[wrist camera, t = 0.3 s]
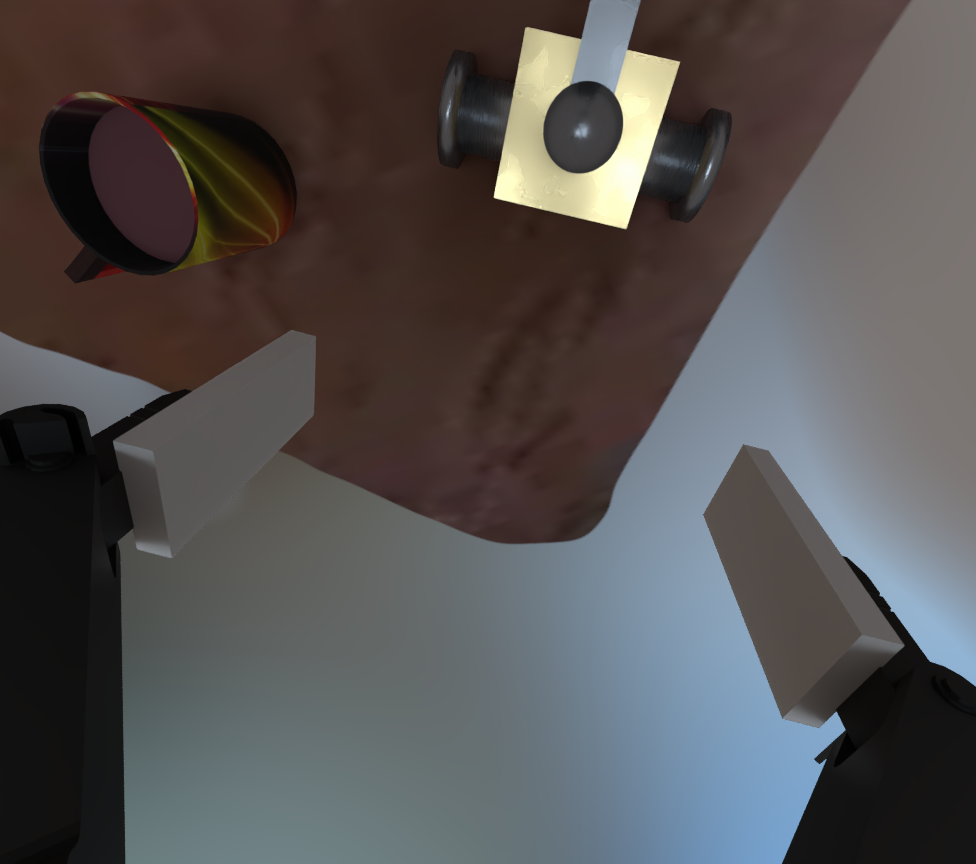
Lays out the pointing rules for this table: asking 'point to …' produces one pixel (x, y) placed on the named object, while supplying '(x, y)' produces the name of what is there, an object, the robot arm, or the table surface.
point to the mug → (161, 184)
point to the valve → (522, 153)
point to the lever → (592, 92)
